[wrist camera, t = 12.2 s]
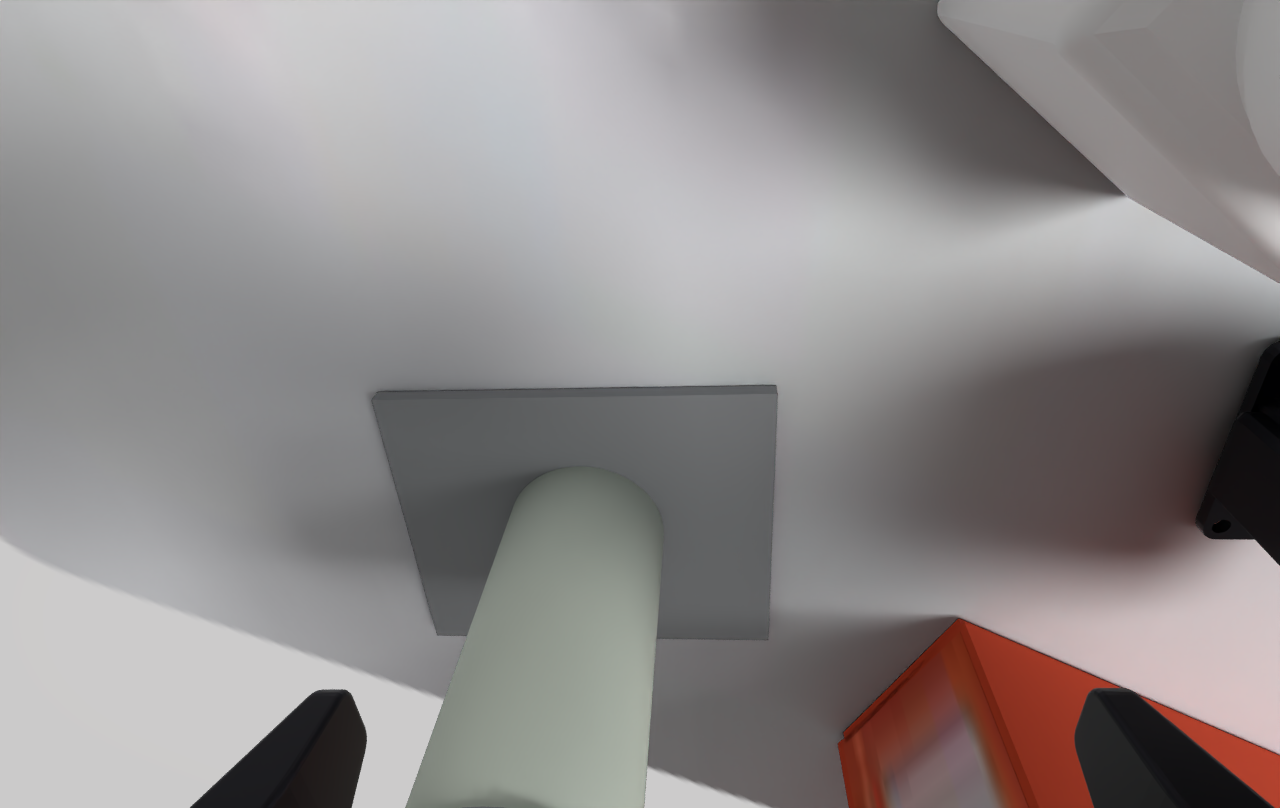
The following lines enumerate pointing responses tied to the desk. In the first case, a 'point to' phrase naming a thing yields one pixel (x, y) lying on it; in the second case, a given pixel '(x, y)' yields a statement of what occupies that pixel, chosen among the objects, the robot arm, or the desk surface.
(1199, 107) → the medicine bottle
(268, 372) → the desk surface
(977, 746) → the file binder
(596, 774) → the tin canister
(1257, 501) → the robot arm
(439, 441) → the charcoal pad
